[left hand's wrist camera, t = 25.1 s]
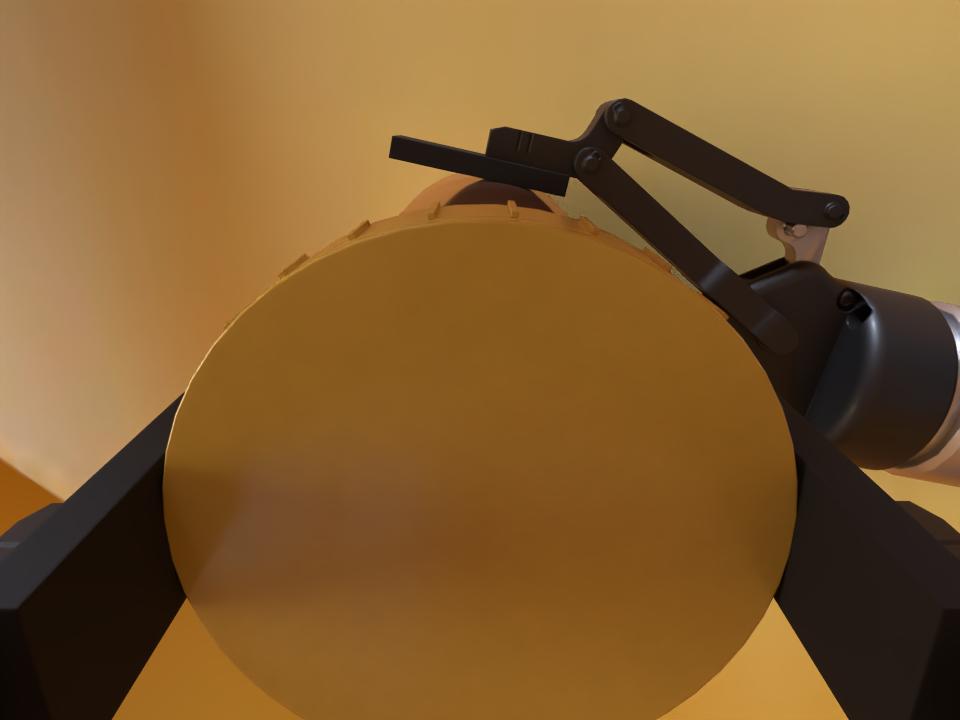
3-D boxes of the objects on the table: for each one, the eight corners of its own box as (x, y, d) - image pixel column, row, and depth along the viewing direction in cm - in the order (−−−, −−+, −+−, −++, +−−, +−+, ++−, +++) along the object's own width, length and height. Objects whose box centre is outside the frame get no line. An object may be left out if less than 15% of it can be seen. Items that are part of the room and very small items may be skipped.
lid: (587, 744, 15) (602, 832, 13) (139, 583, 13) (85, 656, 11) (870, 358, 11) (941, 402, 10) (320, 84, 10) (285, 76, 8)
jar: (392, 356, 34) (291, 612, 16) (384, 169, 31) (247, 224, 13) (572, 357, 34) (673, 614, 16) (582, 170, 31) (724, 227, 13)
